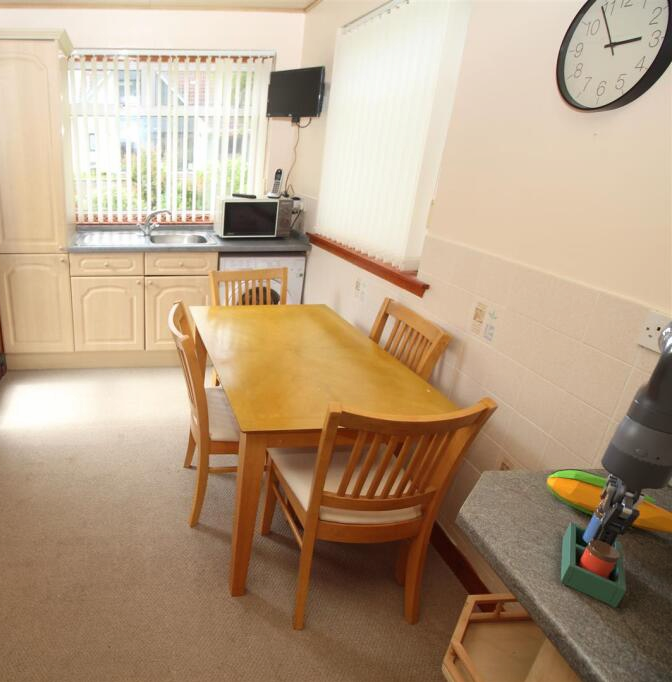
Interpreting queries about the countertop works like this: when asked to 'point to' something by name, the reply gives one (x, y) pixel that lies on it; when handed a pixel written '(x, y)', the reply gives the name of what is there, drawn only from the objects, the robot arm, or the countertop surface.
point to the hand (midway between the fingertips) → (600, 536)
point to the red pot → (599, 558)
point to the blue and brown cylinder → (594, 525)
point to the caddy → (584, 579)
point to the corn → (585, 497)
